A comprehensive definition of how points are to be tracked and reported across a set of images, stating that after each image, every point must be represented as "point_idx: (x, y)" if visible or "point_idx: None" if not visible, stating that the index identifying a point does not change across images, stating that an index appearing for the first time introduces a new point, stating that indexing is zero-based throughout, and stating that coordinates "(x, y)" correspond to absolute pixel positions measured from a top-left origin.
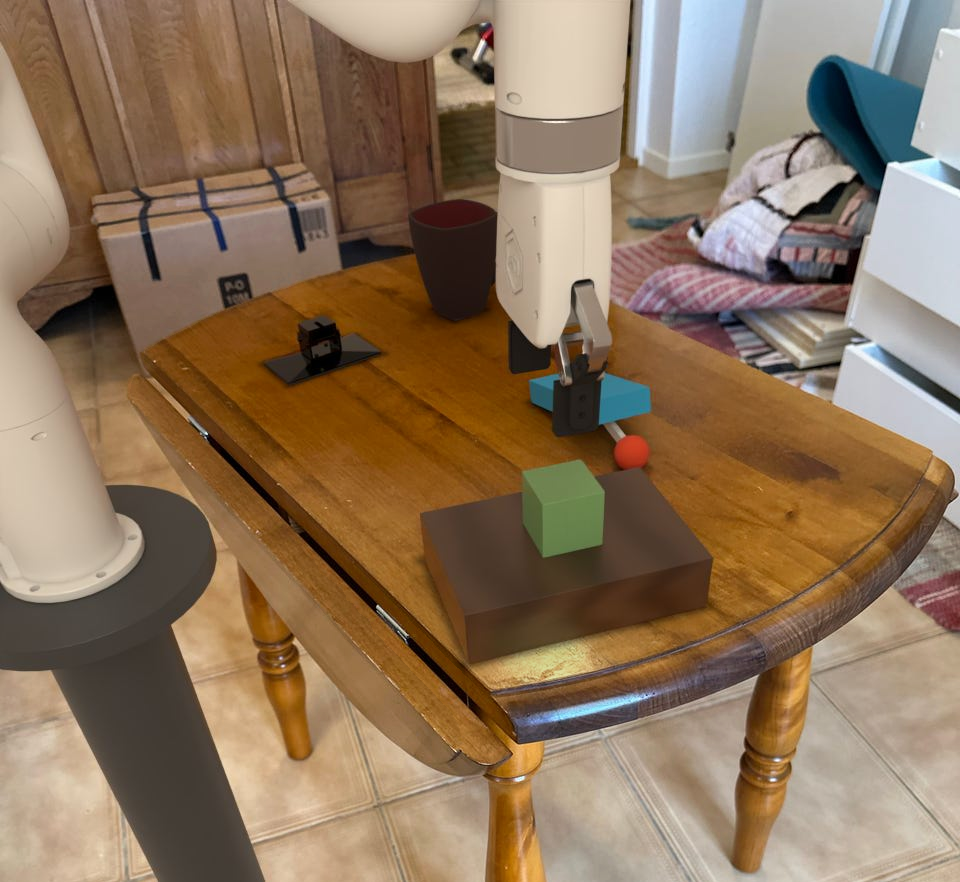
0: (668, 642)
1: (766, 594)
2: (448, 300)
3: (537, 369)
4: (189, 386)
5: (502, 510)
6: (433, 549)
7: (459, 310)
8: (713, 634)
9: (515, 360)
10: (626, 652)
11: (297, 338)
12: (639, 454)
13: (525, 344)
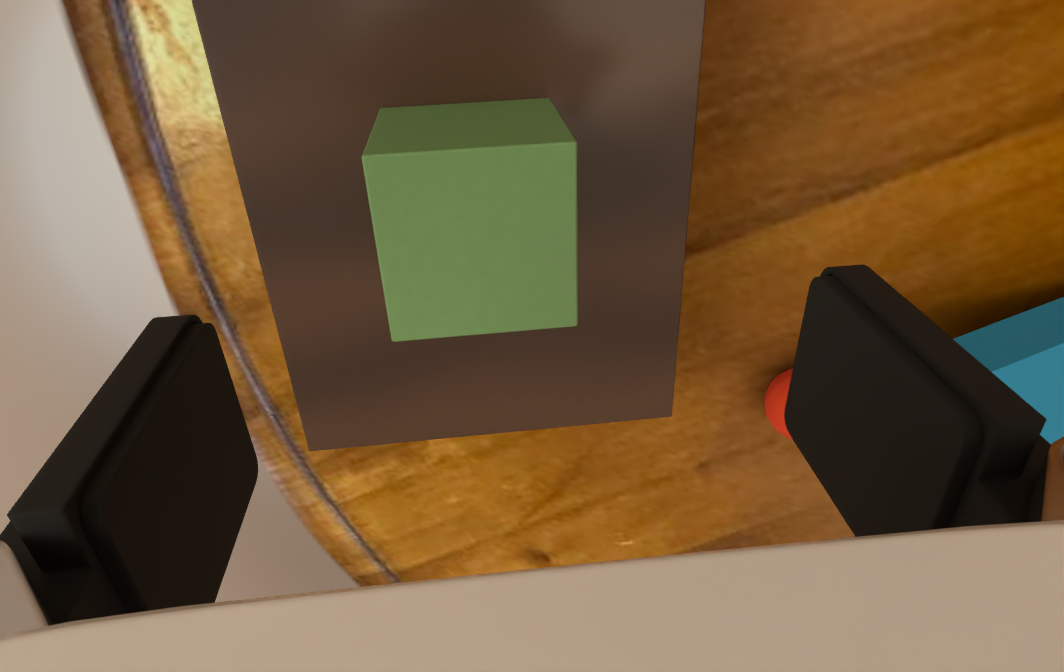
0: (237, 288)
1: (345, 469)
2: None
3: (794, 378)
4: None
5: (630, 57)
6: None
7: None
8: (250, 365)
9: (846, 317)
10: (214, 205)
11: None
12: (776, 417)
13: (871, 411)
